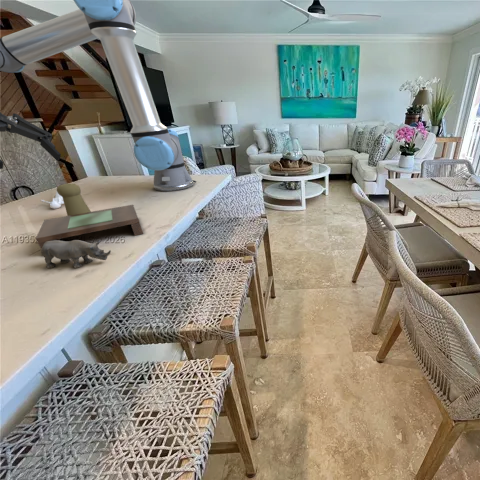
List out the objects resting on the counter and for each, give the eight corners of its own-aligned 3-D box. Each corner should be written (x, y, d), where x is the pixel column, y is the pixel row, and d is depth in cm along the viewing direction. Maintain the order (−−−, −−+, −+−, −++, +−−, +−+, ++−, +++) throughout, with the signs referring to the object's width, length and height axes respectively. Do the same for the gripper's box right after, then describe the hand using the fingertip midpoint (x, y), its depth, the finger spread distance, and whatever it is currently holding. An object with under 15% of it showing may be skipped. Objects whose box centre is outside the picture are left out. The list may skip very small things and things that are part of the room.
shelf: (137, 218, 83) (132, 203, 81) (143, 233, 73) (137, 217, 71) (52, 235, 72) (43, 219, 70) (45, 256, 62) (35, 237, 60)
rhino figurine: (108, 268, 57) (97, 243, 55) (42, 270, 57) (28, 245, 54) (120, 258, 61) (110, 235, 58) (58, 260, 60) (46, 236, 58)
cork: (92, 214, 86) (78, 180, 81) (95, 219, 82) (80, 184, 77) (68, 218, 82) (52, 184, 77) (70, 224, 78) (53, 188, 73)
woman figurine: (84, 182, 104) (72, 197, 90) (89, 192, 106) (77, 209, 93) (46, 185, 99) (26, 202, 86) (51, 196, 102) (33, 215, 88)
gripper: (25, 113, 87) (76, 162, 90) (-100, 115, 66) (-29, 179, 69) (27, 94, 83) (80, 146, 86) (-105, 90, 62) (-29, 159, 65)
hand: (32, 161), depth 77 cm, fingers open, 13 cm apart
